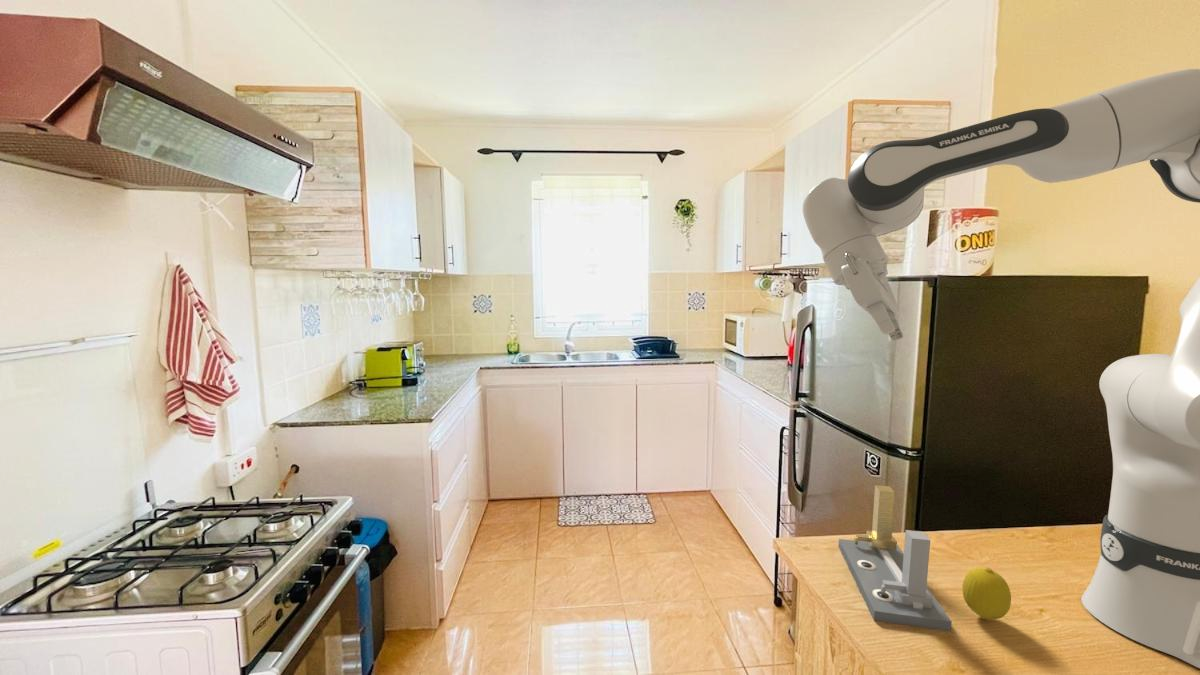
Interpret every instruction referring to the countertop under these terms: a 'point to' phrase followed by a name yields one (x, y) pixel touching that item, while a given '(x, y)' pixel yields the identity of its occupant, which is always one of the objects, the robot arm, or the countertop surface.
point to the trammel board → (896, 581)
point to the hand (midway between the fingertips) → (894, 336)
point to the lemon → (986, 593)
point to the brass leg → (881, 520)
